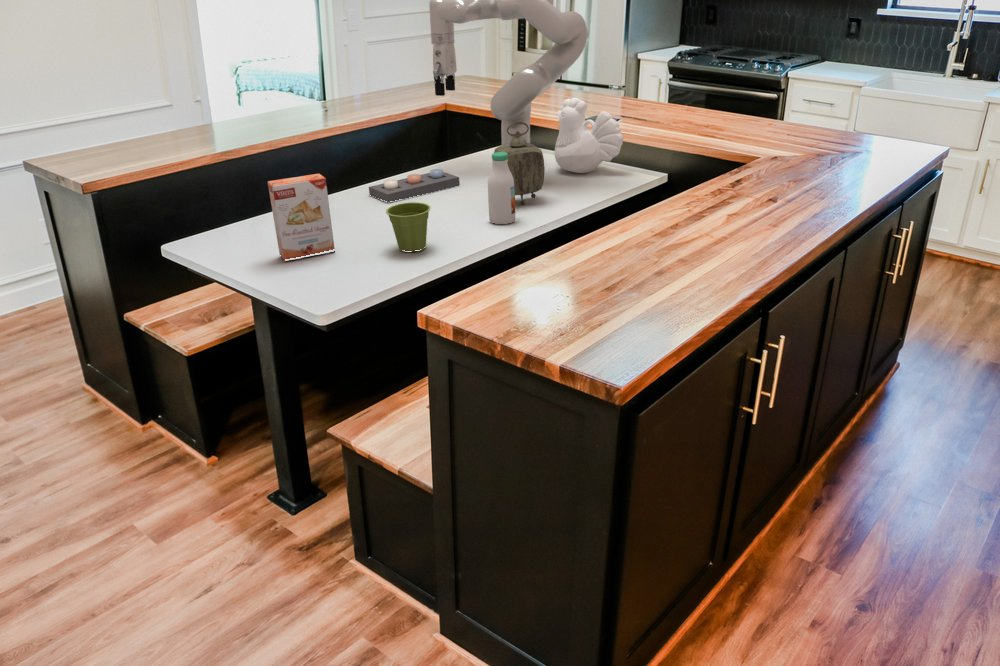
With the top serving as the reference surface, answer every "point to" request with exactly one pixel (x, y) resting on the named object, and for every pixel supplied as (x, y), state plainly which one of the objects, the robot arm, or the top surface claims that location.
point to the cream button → (390, 184)
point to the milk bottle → (501, 191)
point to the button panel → (414, 187)
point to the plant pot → (409, 224)
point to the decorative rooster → (585, 138)
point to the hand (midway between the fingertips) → (445, 92)
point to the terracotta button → (414, 179)
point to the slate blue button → (436, 173)
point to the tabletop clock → (524, 164)
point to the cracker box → (301, 215)
